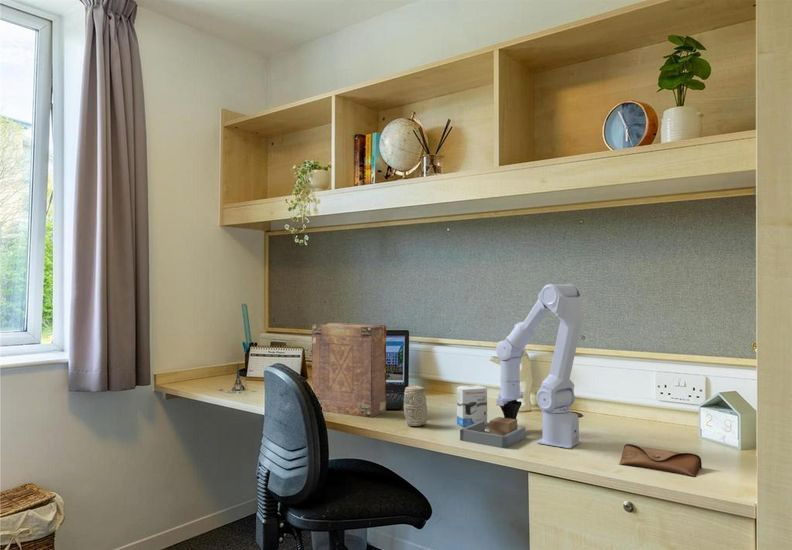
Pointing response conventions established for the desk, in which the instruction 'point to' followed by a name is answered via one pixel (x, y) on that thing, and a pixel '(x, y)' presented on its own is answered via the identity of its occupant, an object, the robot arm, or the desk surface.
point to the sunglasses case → (661, 460)
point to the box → (490, 436)
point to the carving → (415, 406)
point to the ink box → (471, 405)
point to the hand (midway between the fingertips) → (510, 425)
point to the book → (349, 368)
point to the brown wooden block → (502, 425)
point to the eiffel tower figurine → (237, 384)
